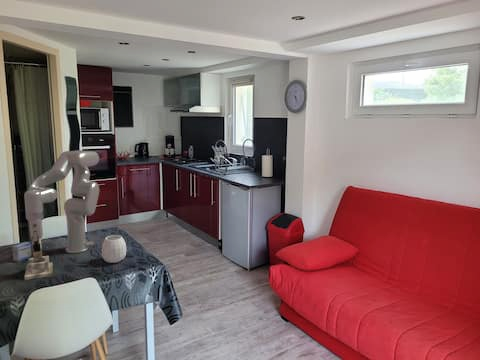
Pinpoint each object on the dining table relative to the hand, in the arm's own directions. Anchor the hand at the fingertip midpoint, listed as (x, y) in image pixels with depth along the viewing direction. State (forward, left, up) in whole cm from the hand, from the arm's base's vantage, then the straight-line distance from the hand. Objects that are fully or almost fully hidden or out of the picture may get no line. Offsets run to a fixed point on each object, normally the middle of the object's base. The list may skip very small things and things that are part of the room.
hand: (37, 249), depth 180 cm
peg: (0, 0, -5) cm, 5 cm away
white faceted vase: (-37, -1, -13) cm, 39 cm away
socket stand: (0, 0, -12) cm, 12 cm away
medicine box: (+9, -22, -13) cm, 27 cm away
